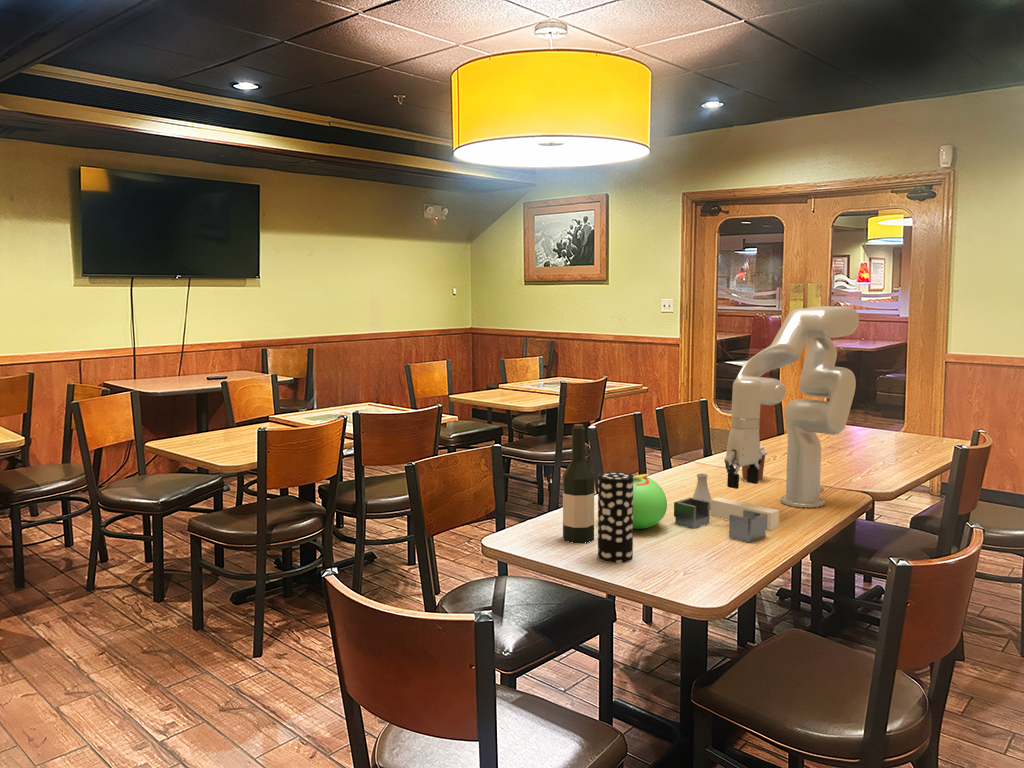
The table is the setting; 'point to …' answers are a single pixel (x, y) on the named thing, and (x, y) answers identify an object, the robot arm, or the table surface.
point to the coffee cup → (760, 472)
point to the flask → (702, 489)
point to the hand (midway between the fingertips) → (742, 485)
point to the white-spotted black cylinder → (615, 517)
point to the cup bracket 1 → (692, 512)
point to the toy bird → (647, 502)
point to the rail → (728, 507)
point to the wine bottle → (578, 493)
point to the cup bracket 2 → (748, 526)
